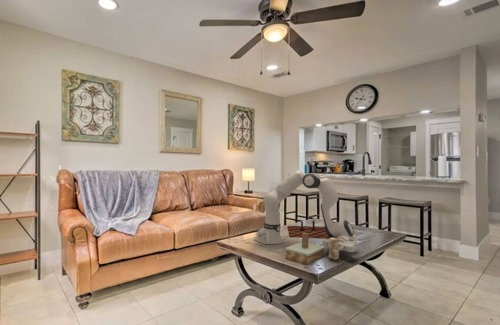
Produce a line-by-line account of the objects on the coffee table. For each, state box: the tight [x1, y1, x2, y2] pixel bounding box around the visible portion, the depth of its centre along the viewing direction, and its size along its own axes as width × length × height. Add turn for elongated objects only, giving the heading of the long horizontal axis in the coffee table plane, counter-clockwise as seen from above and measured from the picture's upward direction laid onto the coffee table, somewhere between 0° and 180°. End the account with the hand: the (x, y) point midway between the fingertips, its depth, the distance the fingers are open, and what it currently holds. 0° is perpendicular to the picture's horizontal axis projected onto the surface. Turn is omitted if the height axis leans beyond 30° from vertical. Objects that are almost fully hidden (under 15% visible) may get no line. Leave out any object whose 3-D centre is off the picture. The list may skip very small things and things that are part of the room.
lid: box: [284, 233, 326, 256], centre depth 174 cm, size 17×21×10 cm
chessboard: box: [287, 219, 338, 240], centre depth 239 cm, size 40×40×11 cm
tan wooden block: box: [328, 238, 340, 260], centre depth 170 cm, size 4×4×12 cm
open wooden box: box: [285, 249, 325, 265], centre depth 174 cm, size 16×20×5 cm
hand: (333, 247), depth 169 cm, fingers closed on tan wooden block, 4 cm apart
